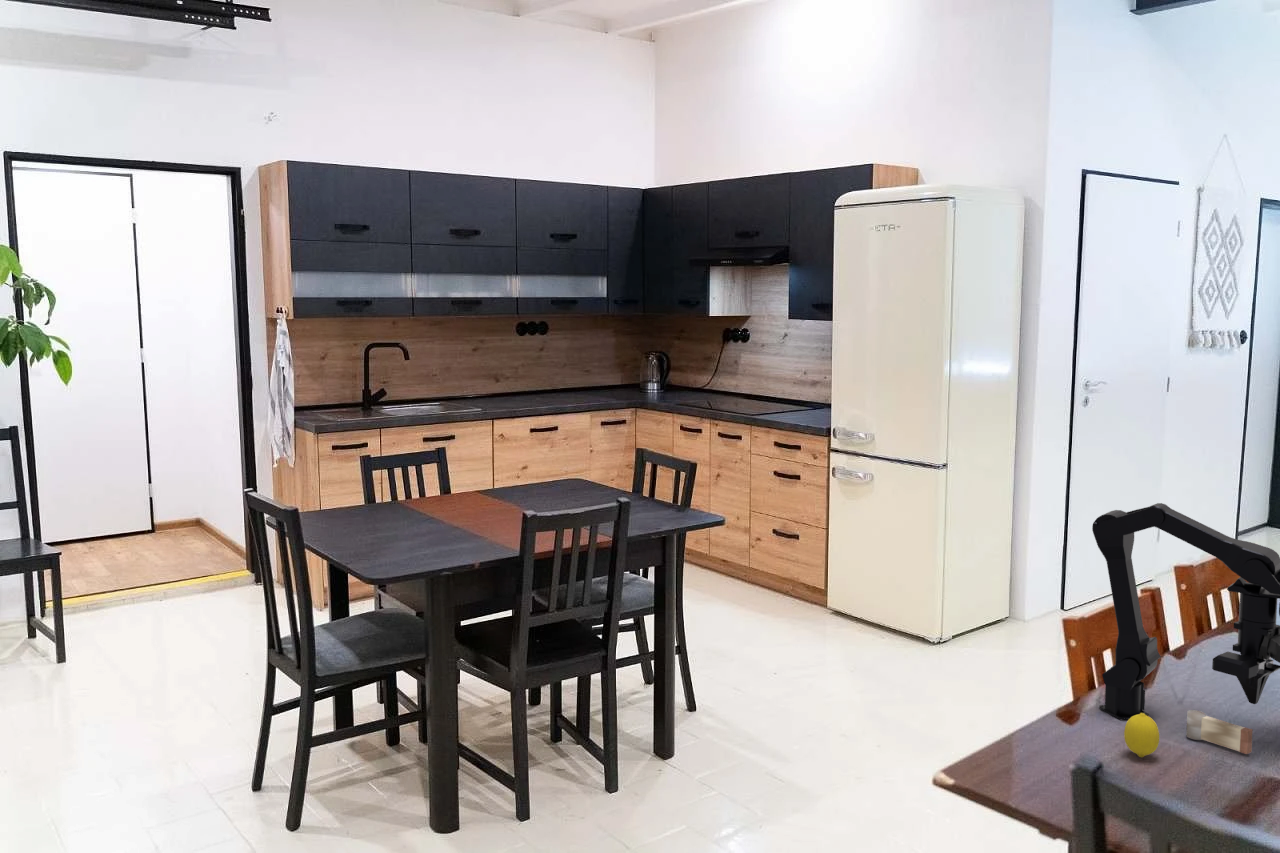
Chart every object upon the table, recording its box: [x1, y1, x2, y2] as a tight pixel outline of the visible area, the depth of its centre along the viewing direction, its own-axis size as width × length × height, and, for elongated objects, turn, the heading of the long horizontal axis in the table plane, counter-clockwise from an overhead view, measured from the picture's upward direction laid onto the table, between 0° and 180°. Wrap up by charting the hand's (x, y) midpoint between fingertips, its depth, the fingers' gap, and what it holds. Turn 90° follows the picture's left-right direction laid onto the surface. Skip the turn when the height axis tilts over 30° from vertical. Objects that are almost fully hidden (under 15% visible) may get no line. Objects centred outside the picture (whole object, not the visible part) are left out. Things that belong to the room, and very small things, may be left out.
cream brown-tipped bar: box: [1186, 709, 1254, 755], centre depth 184 cm, size 11×3×4 cm, turn 34°
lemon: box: [1123, 713, 1160, 758], centre depth 180 cm, size 6×6×8 cm
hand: (1253, 703), depth 185 cm, fingers closed
